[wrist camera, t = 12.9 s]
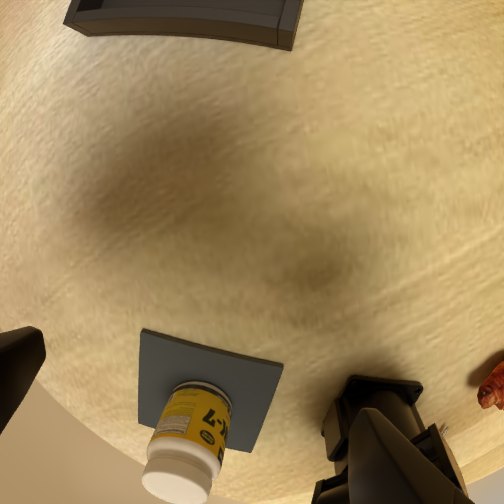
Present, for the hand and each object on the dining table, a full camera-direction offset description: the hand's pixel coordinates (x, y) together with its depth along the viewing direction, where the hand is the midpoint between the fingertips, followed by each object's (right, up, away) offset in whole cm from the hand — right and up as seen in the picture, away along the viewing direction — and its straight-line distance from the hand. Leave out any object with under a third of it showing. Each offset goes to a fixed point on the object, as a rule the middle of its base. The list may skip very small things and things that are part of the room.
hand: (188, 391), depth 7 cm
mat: (-2, -8, +15) cm, 17 cm away
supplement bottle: (-2, -8, +15) cm, 17 cm away
